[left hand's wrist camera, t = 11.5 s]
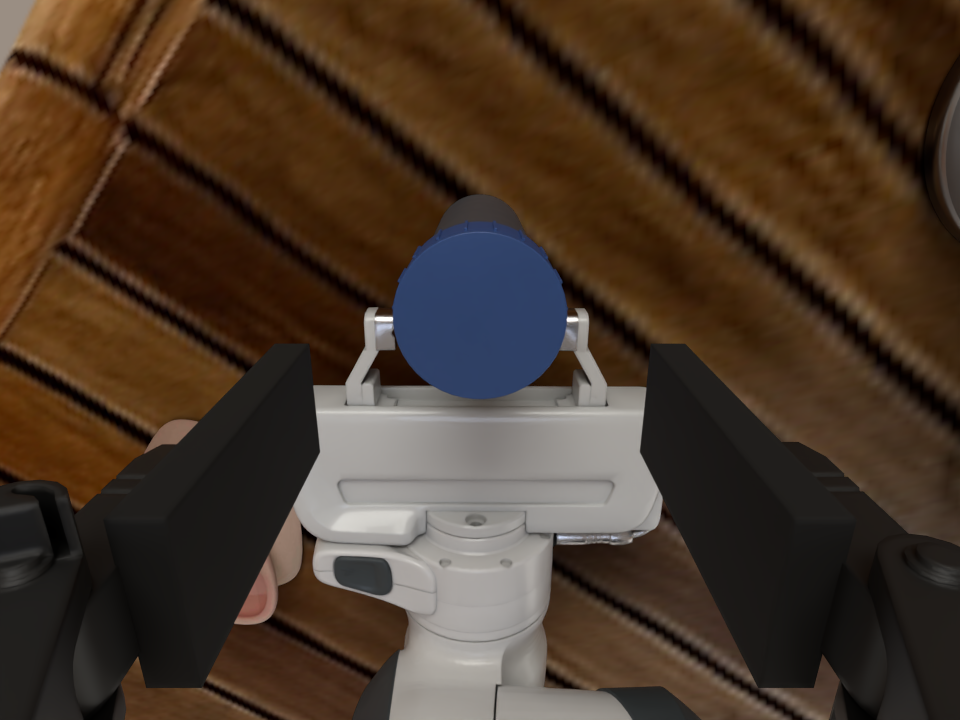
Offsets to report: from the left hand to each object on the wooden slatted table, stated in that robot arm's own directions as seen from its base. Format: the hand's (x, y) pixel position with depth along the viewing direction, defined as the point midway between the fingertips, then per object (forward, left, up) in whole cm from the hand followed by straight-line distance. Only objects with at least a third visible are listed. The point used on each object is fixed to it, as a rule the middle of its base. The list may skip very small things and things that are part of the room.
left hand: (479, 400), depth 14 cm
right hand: (-1, +2, -16) cm, 16 cm away
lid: (0, 0, -7) cm, 7 cm away
